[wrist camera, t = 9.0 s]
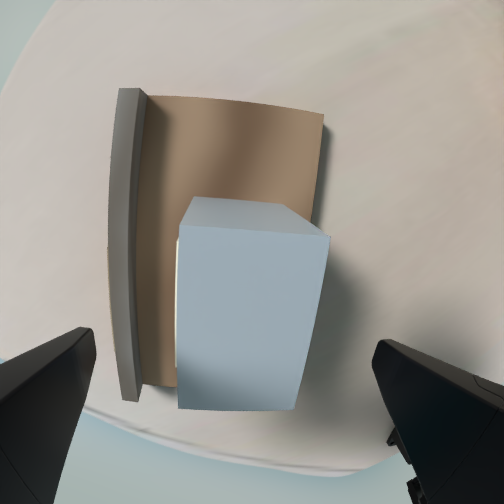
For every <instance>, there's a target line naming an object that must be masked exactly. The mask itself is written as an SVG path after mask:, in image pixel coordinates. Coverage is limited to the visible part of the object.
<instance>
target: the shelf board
mask: <svg viewBox="0 0 504 504" xmlns="http://www.w3.org/2000/svg"><path fill="white" fill-rule="evenodd" d="M323 119H324V114H319V113H314V112H309V111H303V110H298V109H292V108H286V107H279V106H273V105H266V104H258V103H251V102H242V101H233V100H223V99H212V98H198V97H181V96H149V95H147V94H146V93H144V92H143V91H142V90H141V89H140V88H119V92H118V99H117V106H116V113H115V122H114V130H113V140H112V151H111V164H110V180H109V204H108V247H107V260H108V284H109V300H110V314H111V325H112V335H113V344H114V351H115V353H116V361H117V368H118V375H119V382H120V388H121V394H122V400H126V401H133V402H138V401H139V397H140V393H141V389H142V385H143V384H147V385H157V386H167V387H177V368H176V367H175V275H176V247H177V240H178V237H179V225H180V223H181V221H182V219H183V217H184V215H185V213H186V211H187V209H188V207H189V205H190V203H191V201H192V199H193V197H194V196H196V197H209V198H222V199H234V200H246V201H257V202H267V203H278V204H283V205H285V206H286V207H288V208H289V209H291V210H292V211H294V212H295V213H297V214H298V215H300V216H301V217H303V218H304V219H306V220H307V221H309V222H310V221H311V215H312V208H313V201H314V193H315V186H316V178H317V171H318V163H319V155H320V146H321V137H322V128H323Z"/></svg>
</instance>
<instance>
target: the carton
mask: <svg viewBox="0 0 504 504" xmlns="http://www.w3.org/2000/svg"><path fill="white" fill-rule="evenodd" d="M330 238H331V237H330V236H329V235H327V234H326V233H324V232H323V231H322V230H320V229H319V228H317V227H316V226H314V225H313V224H311V223H310V222H309V221H307V220H306V219H304V218H303V217H301V216H300V215H298V214H297V213H295V212H294V211H292V210H291V209H289V208H288V207H286V206H285V205H283V204H278V203H267V202H257V201H246V200H234V199H222V198H209V197H196V196H194V197H193V199H192V201H191V203H190V205H189V207H188V209H187V211H186V213H185V215H184V217H183V219H182V221H181V223H180V225H179V237H178V240H177V247H176V275H175V367H176V368H177V391H178V408H179V409H194V410H217V411H273V410H294V406H295V403H296V399H297V395H298V391H299V387H300V383H301V379H302V375H303V371H304V367H305V363H306V359H307V354H308V350H309V346H310V341H311V337H312V332H313V328H314V323H315V318H316V313H317V309H318V304H319V299H320V294H321V288H322V283H323V278H324V273H325V267H326V262H327V256H328V250H329V244H330Z"/></svg>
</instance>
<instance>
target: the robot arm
mask: <svg viewBox="0 0 504 504" xmlns="http://www.w3.org/2000/svg"><path fill="white" fill-rule="evenodd" d="M95 361H96V346H95V339H94V333H93V330H92V329H91V328H85V327H78V328H76V329H74V330H72V331H70V332H67V333H65V334H63V335H61V336H59V337H57V338H55V339H53V340H51V341H48V342H46V343H44V344H42V345H40V346H38V347H36V348H34V349H31V350H29V351H27V352H25V353H23V354H21V355H19V356H17V357H15V358H12V359H10V360H8V361H6V362H4V363H2V364H0V504H53V503H54V499H55V495H56V491H57V488H58V484H59V480H60V477H61V473H62V470H63V467H64V463H65V460H66V457H67V453H68V450H69V447H70V444H71V441H72V437H73V435H74V432H75V429H76V426H77V423H78V420H79V417H80V414H81V412H82V409H83V406H84V403H85V400H86V397H87V393H88V389H89V385H90V380H91V376H92V372H93V368H94V365H95ZM372 369H373V371H374V374H375V377H376V380H377V383H378V386H379V389H380V392H381V395H382V398H383V400H384V403H385V405H386V407H387V410H388V412H389V414H390V416H391V418H392V421H393V423H394V425H395V428H394V429H393V431H392V433H391V435H390V437H389V438H388V440H387V444H388V446H393V445H397V447H398V449H399V450H400V452H401V454H402V455H403V457H404V459H405V460H406V462H407V463H408V464H409V465H410V464H412V466H413V468H414V470H415V473H416V475H417V476H416V477H415V478H414V479H411V480H410V481H408V482H407V486H408V492H409V494H410V497H411V500H412V503H413V504H504V386H503V385H500V384H497V383H494V382H492V381H489V380H486V379H484V378H481V377H479V376H476V375H474V374H473V375H472V374H471V373H469V372H467V371H464V370H462V369H460V368H457V367H455V366H452V365H450V364H448V363H445V362H443V361H441V360H438V359H436V358H433V357H431V356H429V355H426V354H424V353H422V352H419V351H417V350H415V349H412V348H410V347H408V346H406V345H403V344H401V343H399V342H396V341H394V340H392V339H383V340H380V341H379V342H378V344H377V347H376V350H375V353H374V356H373V359H372Z"/></svg>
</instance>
